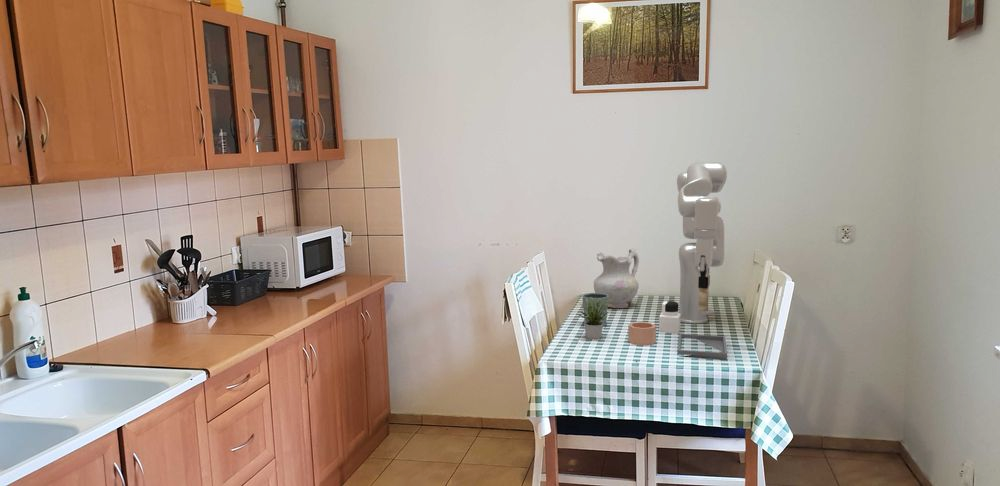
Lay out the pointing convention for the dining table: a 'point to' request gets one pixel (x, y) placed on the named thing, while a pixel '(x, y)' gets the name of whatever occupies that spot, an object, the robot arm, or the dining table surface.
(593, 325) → the house plant
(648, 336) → the cup
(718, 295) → the dining table surface
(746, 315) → the dining table surface
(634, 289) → the ceramic pitcher
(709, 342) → the tray
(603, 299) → the blue-grey plant pot
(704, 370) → the dining table surface
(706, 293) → the dowel
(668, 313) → the medicine bottle
